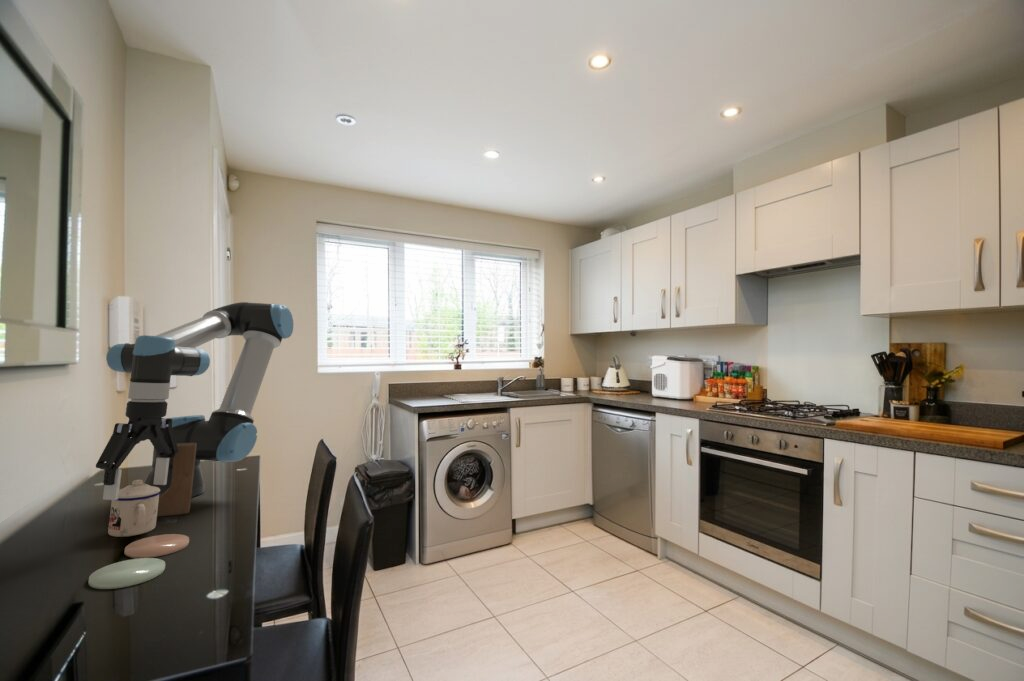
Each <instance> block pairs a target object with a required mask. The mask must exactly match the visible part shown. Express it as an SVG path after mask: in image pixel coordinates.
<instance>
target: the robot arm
mask: <svg viewBox="0 0 1024 681" xmlns="http://www.w3.org/2000/svg"><path fill="white" fill-rule="evenodd" d="M293 332H294V319H293V314H292V312H291V310H290V309H289V307H287V306H286V305H285V304H278V303H277V304H276V303H264V302H263V303H261V302H248V301H247V302H246V301H242V302H241V301H240V302H234V303H231V304H227V305H223V306H221V307H217V308H214V309H212V310H208V311H207V312H205V313H204V314H203V316H202V317H199V318H198V319H195V320H192V321H190V322H187V323H185V324H182V325H180V326H177V327H174V328H171V329H170V330H167V331H164V332H162V333H159V334H157V335H145V334H144V335H139V336H137V337H136V339H135V342H134V343H129V342H128V343H127V342H125V343H117V344H115V345H114V344H113V346H111V347H110V348H109V349H108V351H107V353H106V357H105V358H106V363H107V366H108V367H109V368H110V370H112V371H115V372H120V373H126V374H130V378H129V387H128V395H127V398H128V399H129V400H128V402H126V408H125V417H126V418H128V422H127V423H124V422H123V423H121V422H118V423H117V422H116V423H115V424H114V427H113V431H112V434H111V436H110V438H109V440H108V442H107V444H106V446H105V447H104V448H103V450H102V453H101V454H100V456H99V458H98V460H97V462H96V464H95V468H96V469H100V470H104V475H103V481H102V483H103V485H104V486H103V488H104V489H103V494H102V501H103V500H106V501H112V500H117V499H118V496H119V490H120V489H121V480H122V479H121V478H122V472H123V471H122V470H123V469H122V468H120V467H121V465H122V464H123V462H124V461H125V460H126V459H127V457H128V456H129V455H130V454H131V452H132V451H133V449H134V448H135V446H136V445H138V444H140V443H141V442H143V441H146V440H149V441H150V443H151V445H152V446H153V452H152V463H151V470H150V472H149V474H148V476H147V478H146V480H145V482H144V484H148V485H150V486H155V487H158V488H159V489H160V491H161V493H164V492H165V491H166V490H167V489H169V488H170V485H171V479H172V469H173V460H174V457H175V455H176V453H178V447H177V444H178V443H196V444H197V446H196V456H195V466H194V476H193V485H192V495H191V498H193V497H196V496H199V495H201V494H203V493H204V492H205V486H206V484H205V481H204V477H203V472H202V468H201V461H205V462H206V461H207V462H209V461H210V462H221V463H234V462H235V463H236V462H240V461H242V460H243V459H245V458H246V457H248V455H250V453H251V452H252V451H253V449H254V447H255V444H256V442H257V440H258V435H257V434H258V429H257V427H256V425H255V424H254V422H255V420H254V417H252V411H253V409H254V406H255V402H256V400H257V398H258V395H259V391H260V389H261V386H262V382H263V381H264V377H265V374H266V371H267V368H268V365H269V363H270V360H271V357H272V355H273V352H274V349H276V348H278V347H280V346H281V343H282V340H283V339H284V340H285V339H288V338H290V337H291V336H292V335H293ZM229 336H230V337H231V336H242V338H243V339H244V341H245V343H244V345H243V347H242V350H241V352H240V354H239V357H238V360H237V362H236V365H235V368H234V371H233V373H232V376H231V378H230V380H229V384H228V386H227V388H226V391H225V394H224V397H223V399H222V401H221V404H220V406H219V408H218V409H216V410H214V411H212V412H211V414H210V417H209V419H208V420H206V417H205V415H203V414H196V415H195V414H193V415H184V416H182V415H181V416H175V417H174V416H173V417H167V418H166V416H167V409H168V402H167V401H166V400H167V399H169V397H170V396H169V395H170V389H171V388H170V387H171V376H175V377H176V376H181V377H182V376H186V377H194V376H201V375H203V374H205V372H207V370H208V369H209V368H210V363H211V359H210V358H211V357H210V355H209V353H207V352H206V350H204V349H201V348H198V347H199V346H202V345H204V344H206V343H209V342H210V341H212V340H215V339H224V338H227V337H229ZM164 417H165V418H164ZM161 493H160V494H161Z"/></svg>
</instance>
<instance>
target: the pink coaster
mask: <svg viewBox="0 0 1024 681" xmlns="http://www.w3.org/2000/svg"><path fill="white" fill-rule="evenodd" d="M189 543H190V537H189V536H188V535H185V534H176V533H170V534H169V533H166V534H157V535H153V536H148V537H143V538H141V539H137V540H135V541H132V542H131V543H129V544H128V545H126V546H125V548H124V555H125V557H129V558H131V559H138V558H157V557H161V556H167V555H171V554H174V553H177V552H179V551H182V550H183V549H185V548H187V547H188V546H189Z"/></svg>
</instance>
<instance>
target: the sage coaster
mask: <svg viewBox="0 0 1024 681" xmlns="http://www.w3.org/2000/svg"><path fill="white" fill-rule="evenodd" d="M165 569H166V562H165V560H163V559H161V558H157V557H151V558H131V559H126V560H122V561H118V562H114V563H110V564H108V565H105V566H103V567H101V568H98V569H97V570H95V571H93V572H92V573H91V574H90V575H89V577H88V586H89V587H91V588H94V589H97V590H98V589H99V590H113V589H121V588H127V587H133V586H136V585H139V584H142V583H145V582H148V581H151V580H152V579H153V580H154V579H155V578H156V577H158V576H160V575H161V574H163V572H164V571H165Z"/></svg>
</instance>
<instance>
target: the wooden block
mask: <svg viewBox="0 0 1024 681" xmlns="http://www.w3.org/2000/svg"><path fill="white" fill-rule="evenodd" d="M196 446H197V444H196V443H178V444H177V447H178V453H176V455H175V457H174V460H173V469H172V479H171V485H170V488H169V489H167V490H166V491H165V492H164V493H161V494H159V501H158V511H157V518H159V517H168V516H169V517H170V516H177V515H187V514H189V513H190V510H191V504H192V497H191V495H192V485H193V476H194V466H195V456H196Z"/></svg>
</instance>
